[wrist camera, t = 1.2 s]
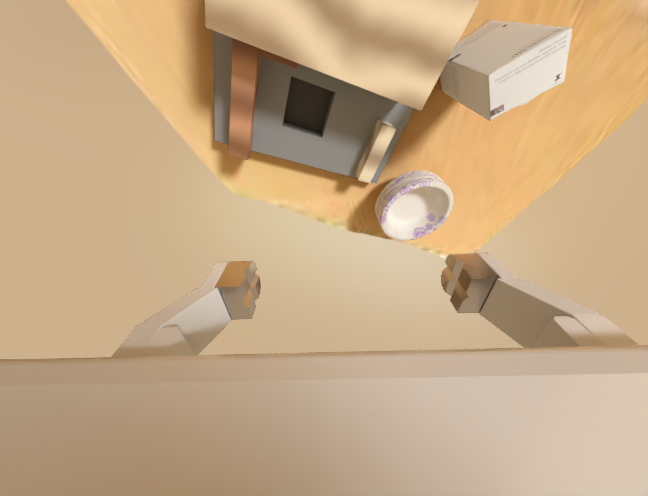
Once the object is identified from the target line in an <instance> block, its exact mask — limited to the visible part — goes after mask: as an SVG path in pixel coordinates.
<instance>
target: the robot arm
mask: <svg viewBox="0 0 648 496" xmlns="http://www.w3.org/2000/svg"><path fill="white" fill-rule="evenodd" d="M445 263H446V264H447V267H446V268H445V269H444V270H443V271H442V275H441V283H442V287H443V289H444V290H445V292H446V293H448V294H449V295H450V296H451V299H450V301H451V303H452V304H453V306H454V308H455V309H456V311H457V312H458V313H480V315H482V316H483V317H484V318H486V319H487V320H488V321H489V322H491V323H492V324H494V325H495V326H496V327H497V328H499V329H500V330H501V331H503V332H504V333H506V334H507V335H508V336H509V337H511V338H512V339H513V340H515V341H516V342H517V343H519V344H520V345H521V346H523V347H524V348H493V349H453V350H451V349H449V350H406V351H363V352H362V351H361V352H318V353H277V354H233V355H232V354H230V355H198V354H199V353H200V352H201V351H202V350H203V349H204V348H205V347H206V346H207V345H208V344H209V343H210V342H211V341H212V340H213V339H214V338H215V337H216V336H217V335H218V334H219V333H220V332H221V331H222V330H223V329H224V328H225V327H226V326H227V325H228V324H229V323H230V322H231V320H236V319H252V317H253V314H254V311H255V307H256V305H255V300H257V299H258V298H259V295H260V288H261V284H260V278H259V276H258V275H256V274H255V272H256V269H257V268H256V264H255V262H253V261H231V262H218V263H216V264H215V266H214V267H213V269H212V270H211V272H210V274H209V275H208V277H207V278H206V280H205V282H204V283H203V285H202V286H201V288H196V289H195V290H193V291H191V292H190V293H189V294H187V295H185V296H184V297H182V298H180V299H179V300H177V301H176V302H174V303H172V304H171V305H169V306H168V307H166V308H165V309H163V310H161V311H160V312H158V313H156V314H155V315H153V316H152V317H150V318H149V319H147V320H145V321H144V322H142V323H141V324H139V325H137V326H136V327H135V328H134V329H133V330H132V332H131V333H130V334H129V335H128V337H127V338H126V339H125V341H124V342H123V343H122V344H121V345H120V347H119V348H118V349H117V350H116V352H115V353H114V354H113V355H112V357H102V358H101V357H100V358H60V359H13V360H12V359H2V360H1V359H0V496H648V345H638V344H637V343H636V342H635V341H633V340H632V339H631V338H630V337H629V336H627V335H626V334H625V333H624V332H622V331H621V330H620V329H619V328H618V327H616V326H615V325H614V324H613V323H611V322H610V321H609V320H608V319H607V318H605V317H604V316H603V315H602V314H600V313H597V312H595V311H593V310H591V309H588V308H586V307H584V306H581V305H579V304H577V303H575V302H572V301H570V300H568V299H566V298H564V297H561V296H559V295H557V294H555V293H552V292H550V291H548V290H546V289H543V288H541V287H539V286H537V285H535V284H532V283H530V282H528V281H526V280H523V279H521V278H515V277H514V276H513V275H512V274H511V273H510V272H509V271H508V270H507V269H506V268H505V267H504V266H503V265H502V264H501V263H500V262H499V261H498V260H497V259H496V258H495V257H494V256H493V255H492V254H490V253H488V252H484V253H474V254H449V255H448V257H447V258H446V261H445Z"/></svg>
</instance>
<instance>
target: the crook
mask: <svg viewBox="0 0 648 496" xmlns="http://www.w3.org/2000/svg"><path fill="white" fill-rule="evenodd" d="M261 56H264V57H267V58H269V59H272V60H274V61H277V62H280V63H282V64H285V65H288V66H290V67H293V68H296V69H297V67H298V63H296V62H293V61H291V60H288V59H286V58H283V57H281V56H278V55H275V54H273V53H270V52H268V51H265V50H262V49H260V48H257V47H255V46H252V45H250V44H247V43H244V42H242V41H239V40H237V39H234V38H233V49H232V76H231V103H230V130H229V155H230V156H234V157H238V158H242V159H246V160H248V158H249V155H250V152H251V148H252V138H253V128H254V118H255V108H256V98H257V89H258V79H259V69H260V59H261Z"/></svg>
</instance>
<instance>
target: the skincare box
mask: <svg viewBox="0 0 648 496" xmlns="http://www.w3.org/2000/svg"><path fill="white" fill-rule="evenodd" d="M571 34H572V27H558V26H547V25H537V24H527V23H516V22H505V21H495V20H491V21H488V22H487V23H486V24H484V25H483V26H482V27H481V28H479V29H478V30H476V31H475V32H473V33H472V34H470V35H469V36H467V37H466V38H464V39H463V40H461V41H460V42H458V43H457V44H456V46H455V48H454V50H453V52H452V54H451V56H450V57H449V59H448V61H447V63H446V65H445V67H444V69H443V71H442V73H441V74H440V82H441V88H442V92H443V93H445V94H447V95H448V96H450V97H452V98H453V99H455V100H457V101H458V102H460V103H461V104H463V105H465V106H466V107H468V108H470V109H471V110H473V111H475V112H476V113H478V114H479V115H481V116H483V117H484V118H486V119H487V120H489V121H491V120H492V119H494V118H496V117H498V116H500V115H501V114H503V113H505V112H507V111H509V110H511V109H513V108H514V107H517V106H521V105H523V104H526V103H527V102H529V101H531V100H532V99H533V98H534V97H536V96H537V95H539V94H541V93H543V92H545V91H547V90H549V89H551V88H553V87H555V86H557V85H560V84H561V83H563V82H564V79H565V72H566V65H567V57H568V51H569V45H570V40H571Z"/></svg>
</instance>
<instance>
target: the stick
mask: <svg viewBox="0 0 648 496" xmlns="http://www.w3.org/2000/svg"><path fill="white" fill-rule="evenodd" d="M395 131H396V129H395V128H394V127H393V125H392V124H390V123H387V122H384V121H382V120H379V119H378V121H377V123H376V125H375V128H374V130H373V132H372V135H371V137H370V139H369V142H368V144H367V146H366V149H365V151H364V153H363V156H362V158H361V160H360V162H359V165H358V167H357V169H356V172H355V174H356V177H357V179H358V180H359V181H363V182H366V183H370V182H371V180H372V178H373V176H374V174H375V172H376V170H377V168H378V166H379V164H380V162H381V160H382V158H383V156H384V154H385V152H386V149H387V147H388V145H389V143H390V141H391V139H392V137H393V135H394V133H395Z"/></svg>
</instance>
